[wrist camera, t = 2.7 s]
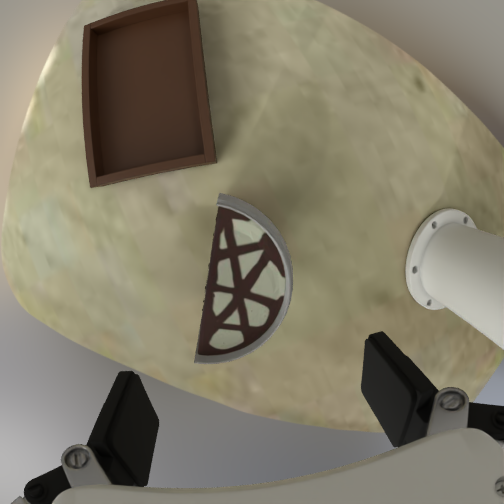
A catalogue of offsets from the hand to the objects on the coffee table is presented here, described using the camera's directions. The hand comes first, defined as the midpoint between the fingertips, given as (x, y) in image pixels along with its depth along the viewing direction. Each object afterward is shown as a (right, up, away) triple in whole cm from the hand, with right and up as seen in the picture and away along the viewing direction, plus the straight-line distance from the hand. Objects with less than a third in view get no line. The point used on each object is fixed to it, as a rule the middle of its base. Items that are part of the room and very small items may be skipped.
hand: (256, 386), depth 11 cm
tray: (-10, +21, +13) cm, 27 cm away
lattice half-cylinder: (-1, +5, +18) cm, 18 cm away
